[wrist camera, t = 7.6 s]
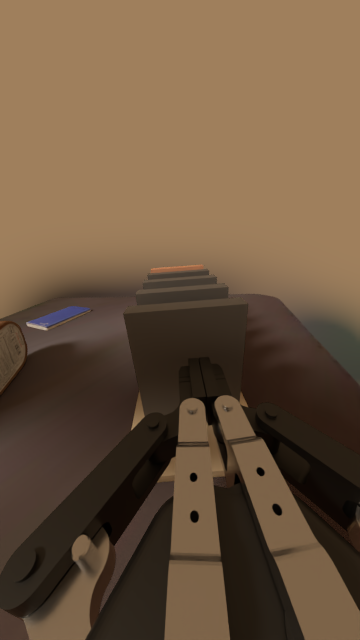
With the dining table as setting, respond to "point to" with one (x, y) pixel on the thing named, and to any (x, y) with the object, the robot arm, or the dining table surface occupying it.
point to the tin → (11, 352)
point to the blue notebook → (58, 318)
